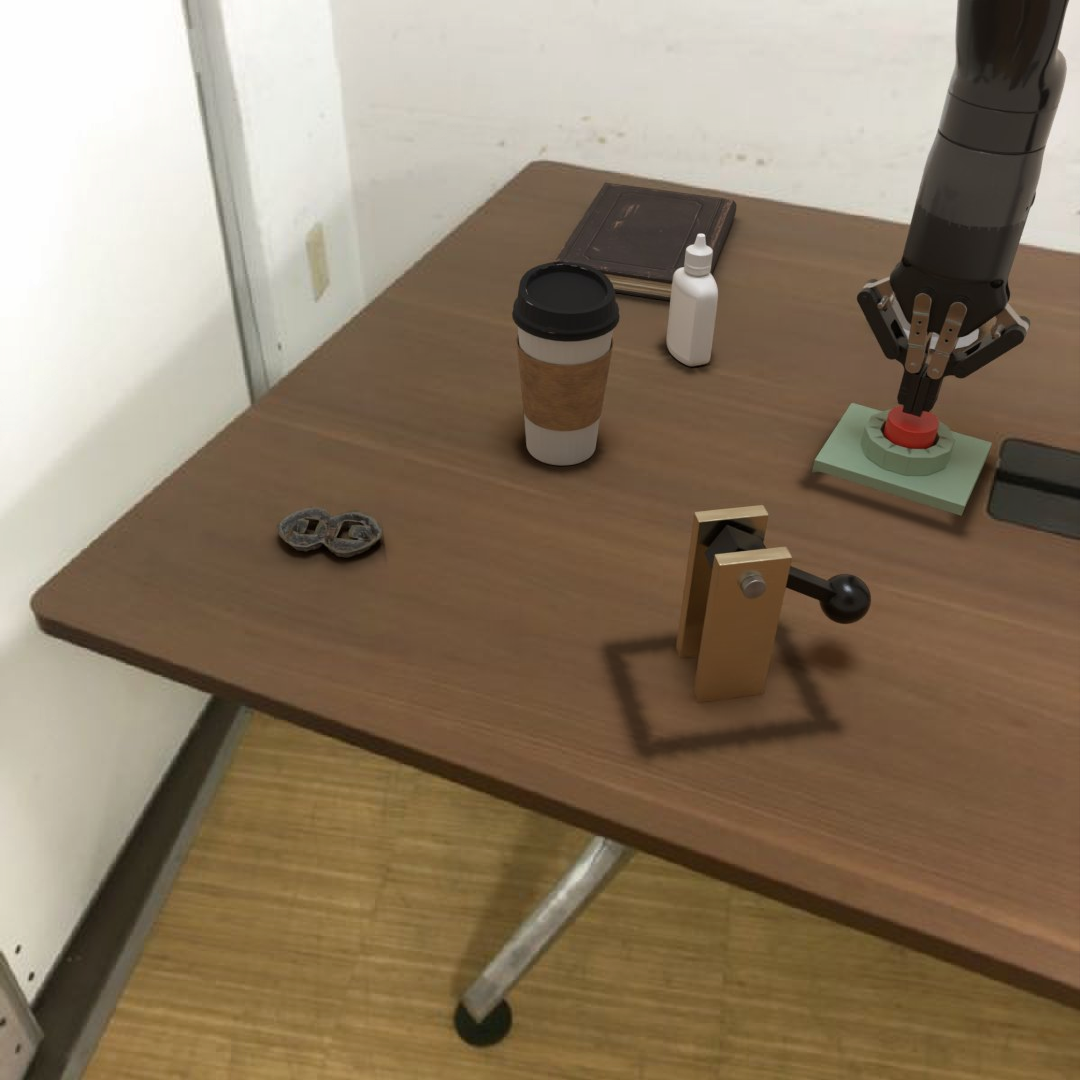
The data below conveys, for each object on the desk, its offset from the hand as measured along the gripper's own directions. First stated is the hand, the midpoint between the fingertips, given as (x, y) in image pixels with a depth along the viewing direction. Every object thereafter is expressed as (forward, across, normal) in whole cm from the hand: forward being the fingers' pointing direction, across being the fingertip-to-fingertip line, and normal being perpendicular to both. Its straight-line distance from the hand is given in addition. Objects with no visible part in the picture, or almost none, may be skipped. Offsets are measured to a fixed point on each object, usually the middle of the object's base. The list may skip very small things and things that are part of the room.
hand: (914, 410), depth 89 cm
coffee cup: (+7, -26, -11) cm, 29 cm away
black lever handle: (-1, -2, -28) cm, 28 cm away
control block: (+6, 0, 0) cm, 6 cm away
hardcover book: (+6, -36, +28) cm, 46 cm away
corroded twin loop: (+6, -35, -31) cm, 47 cm away
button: (+3, 0, 0) cm, 3 cm away
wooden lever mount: (+6, -4, -30) cm, 31 cm away
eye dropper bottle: (+6, -23, +9) cm, 25 cm away
